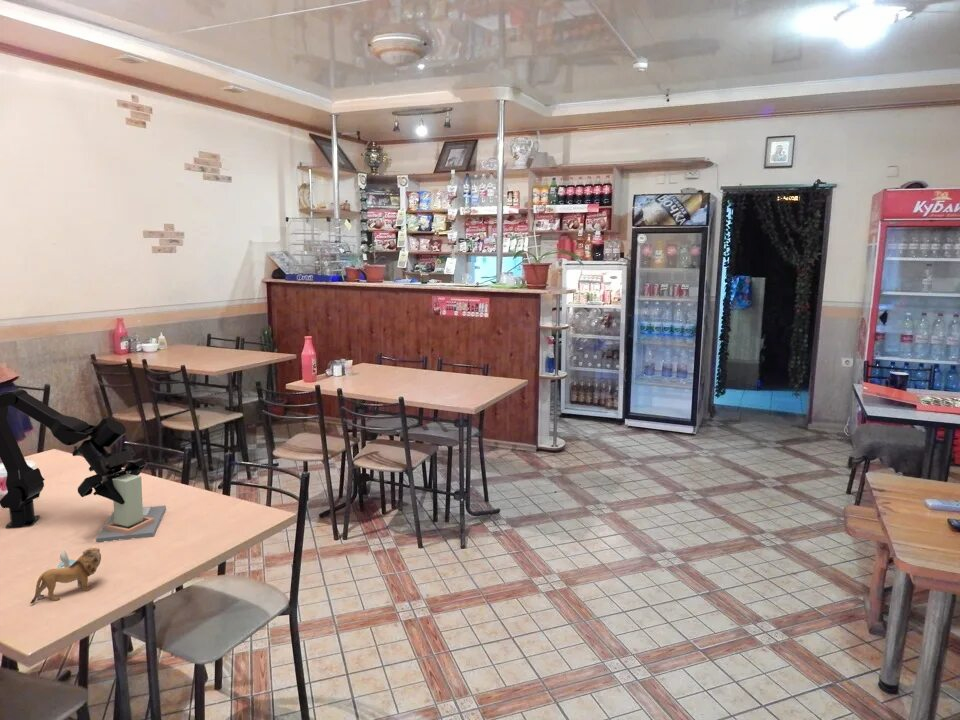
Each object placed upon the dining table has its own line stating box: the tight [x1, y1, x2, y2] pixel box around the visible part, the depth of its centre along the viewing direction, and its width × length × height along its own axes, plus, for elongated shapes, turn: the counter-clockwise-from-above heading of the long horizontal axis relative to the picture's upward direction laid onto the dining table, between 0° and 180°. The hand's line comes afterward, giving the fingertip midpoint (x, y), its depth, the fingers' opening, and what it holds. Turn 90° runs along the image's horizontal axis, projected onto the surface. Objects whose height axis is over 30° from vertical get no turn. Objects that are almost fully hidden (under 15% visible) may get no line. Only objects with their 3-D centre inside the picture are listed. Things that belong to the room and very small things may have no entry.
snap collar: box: [105, 516, 154, 535], centre depth 175 cm, size 9×9×1 cm
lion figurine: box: [29, 546, 102, 604], centre depth 142 cm, size 15×5×9 cm, turn 140°
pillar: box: [112, 474, 144, 527], centre depth 174 cm, size 5×5×13 cm
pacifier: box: [56, 550, 77, 569], centre depth 151 cm, size 7×6×6 cm
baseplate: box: [95, 505, 167, 543], centre depth 179 cm, size 20×14×2 cm
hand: (131, 499), depth 174 cm, fingers closed on pillar, 5 cm apart
